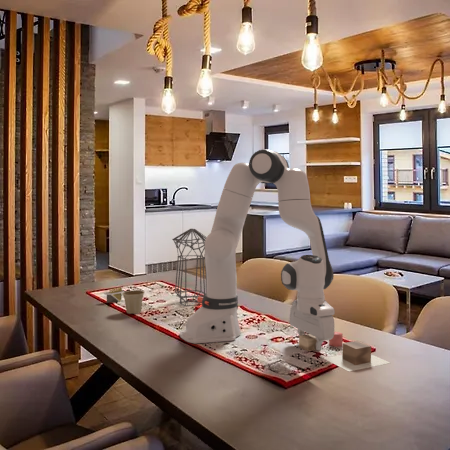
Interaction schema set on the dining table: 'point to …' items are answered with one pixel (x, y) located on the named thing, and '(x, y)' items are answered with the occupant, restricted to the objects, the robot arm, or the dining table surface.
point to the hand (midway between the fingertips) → (310, 345)
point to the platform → (114, 295)
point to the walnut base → (356, 352)
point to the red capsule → (336, 340)
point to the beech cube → (307, 342)
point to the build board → (351, 367)
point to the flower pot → (133, 301)
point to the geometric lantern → (185, 263)
